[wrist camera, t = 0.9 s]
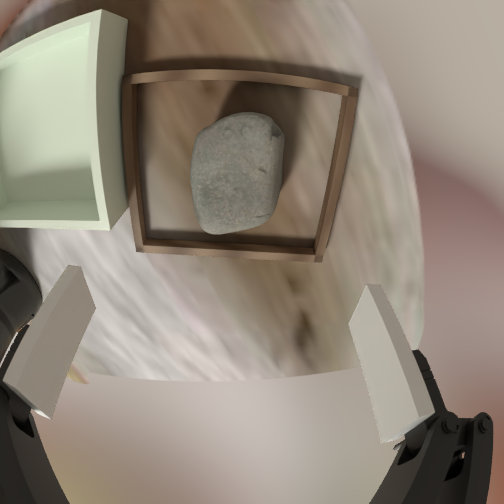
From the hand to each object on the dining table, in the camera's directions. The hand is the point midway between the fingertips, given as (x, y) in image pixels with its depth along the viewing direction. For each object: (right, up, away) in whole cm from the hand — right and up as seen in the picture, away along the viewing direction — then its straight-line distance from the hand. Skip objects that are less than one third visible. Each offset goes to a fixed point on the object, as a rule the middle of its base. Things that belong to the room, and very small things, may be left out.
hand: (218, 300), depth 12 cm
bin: (-22, +17, +10) cm, 30 cm away
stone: (0, +12, +15) cm, 19 cm away
